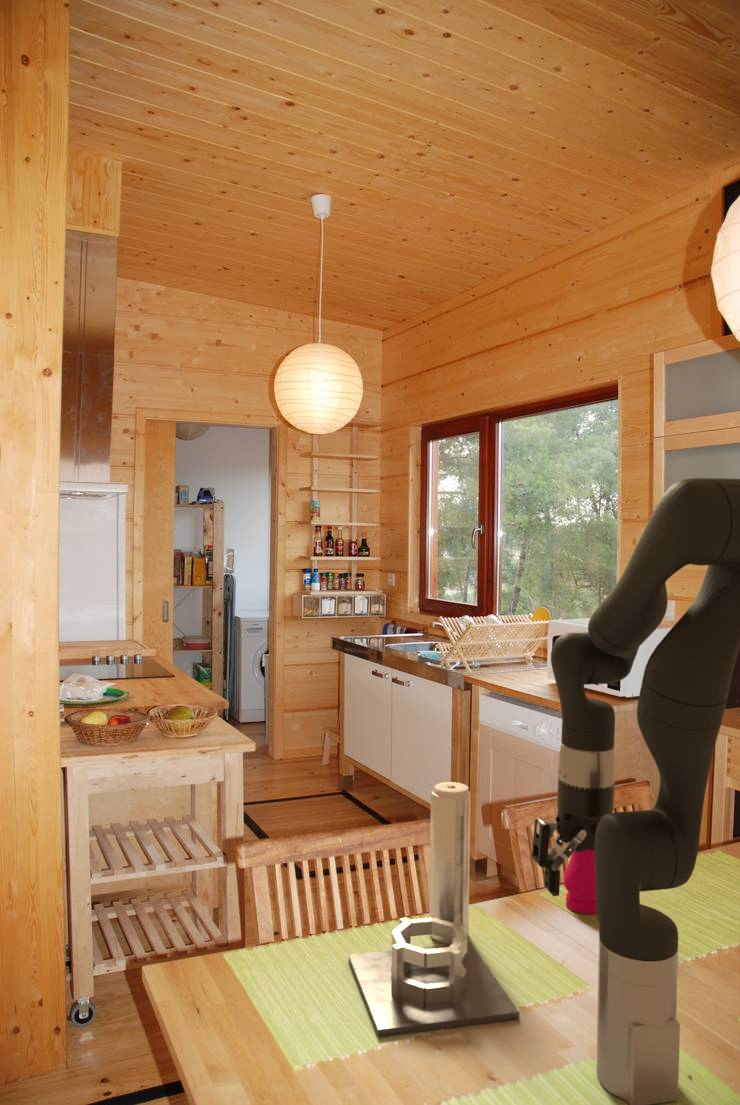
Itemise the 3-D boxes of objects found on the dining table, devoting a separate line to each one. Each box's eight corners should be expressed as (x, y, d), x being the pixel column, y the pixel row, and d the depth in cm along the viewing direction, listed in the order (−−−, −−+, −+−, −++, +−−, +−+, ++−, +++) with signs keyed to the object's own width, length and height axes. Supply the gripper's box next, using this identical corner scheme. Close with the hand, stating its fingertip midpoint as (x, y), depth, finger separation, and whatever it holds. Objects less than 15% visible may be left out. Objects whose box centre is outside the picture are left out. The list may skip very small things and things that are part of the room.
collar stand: (519, 1019, 117) (519, 962, 117) (378, 1037, 112) (378, 978, 112) (470, 948, 136) (470, 899, 136) (348, 961, 132) (349, 910, 132)
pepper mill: (555, 900, 154) (557, 791, 153) (590, 895, 156) (592, 788, 155) (576, 918, 147) (578, 804, 146) (612, 912, 149) (614, 800, 149)
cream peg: (468, 926, 144) (470, 780, 143) (468, 945, 137) (470, 792, 136) (429, 924, 144) (431, 779, 143) (428, 942, 138) (430, 791, 137)
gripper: (549, 789, 111) (545, 909, 112) (647, 782, 114) (642, 899, 115) (526, 770, 118) (523, 883, 119) (619, 765, 121) (615, 874, 122)
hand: (581, 891), depth 117 cm, fingers open, 8 cm apart
